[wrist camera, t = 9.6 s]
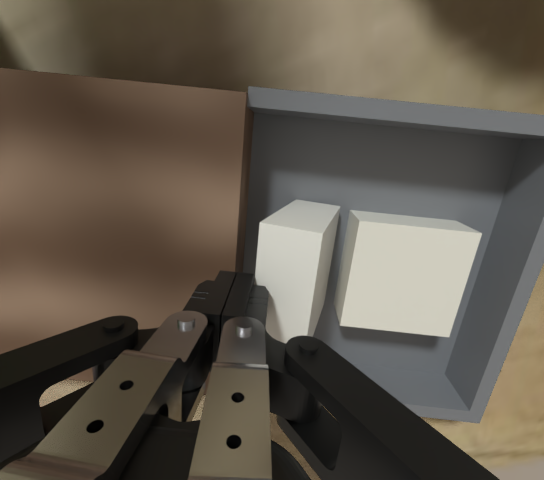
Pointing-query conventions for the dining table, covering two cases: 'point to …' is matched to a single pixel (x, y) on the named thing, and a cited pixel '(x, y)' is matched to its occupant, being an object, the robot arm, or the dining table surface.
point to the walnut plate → (115, 199)
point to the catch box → (420, 203)
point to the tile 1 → (296, 265)
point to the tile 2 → (403, 272)
